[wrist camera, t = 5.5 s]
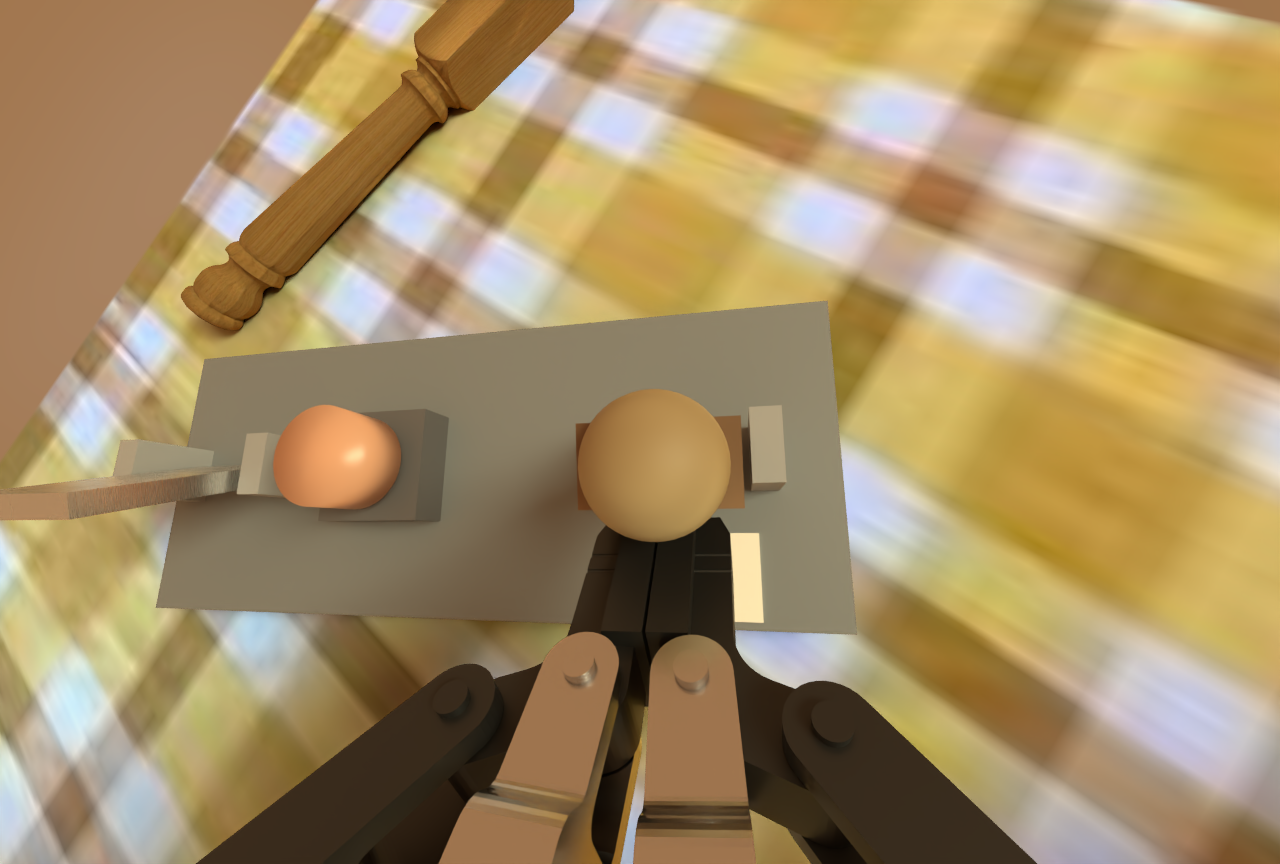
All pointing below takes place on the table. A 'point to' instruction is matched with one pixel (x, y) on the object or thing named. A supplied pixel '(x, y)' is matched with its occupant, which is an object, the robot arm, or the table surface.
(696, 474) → the walnut lever
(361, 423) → the terracotta button
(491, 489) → the control panel
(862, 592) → the table surface
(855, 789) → the robot arm
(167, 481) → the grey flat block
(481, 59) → the turned wooden table leg
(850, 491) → the table surface
